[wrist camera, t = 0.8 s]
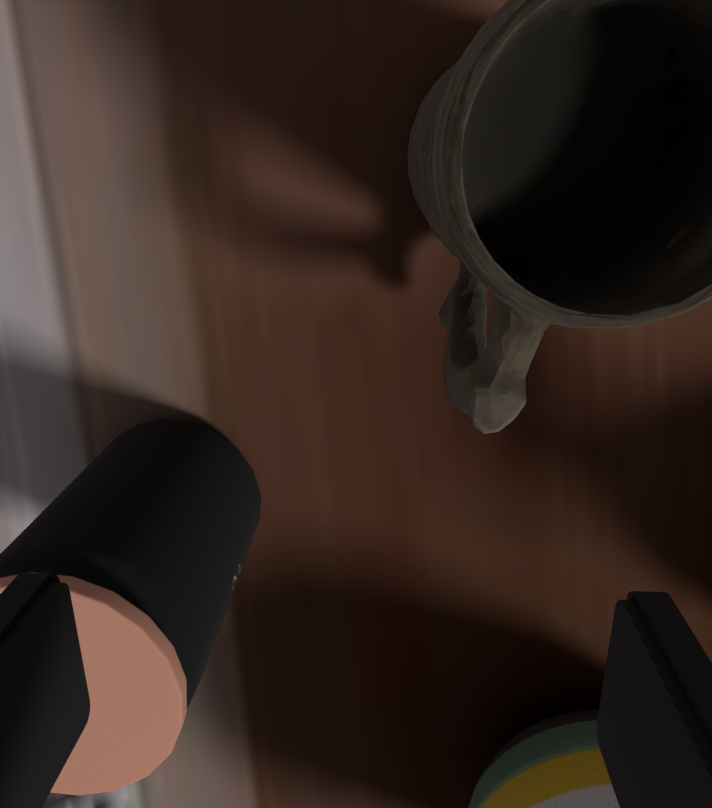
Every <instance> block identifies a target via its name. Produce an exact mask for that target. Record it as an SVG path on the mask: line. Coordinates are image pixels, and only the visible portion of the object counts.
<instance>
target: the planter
mask: <svg viewBox="0 0 712 808" xmlns="http://www.w3.org/2000/svg"><path fill="white" fill-rule="evenodd" d="M598 713H599V710H586V711H576V712H569V713H564V714H560V715H557V716H553V717H550V718H547V719H545V720H542V721H540V722H538V723H536V724H534V725H532V726H530V727H528V728H526V729H525V730H523V731H522V732H520V733H519V734H518V735H516V736H515V737H514V738H512V739H511V740H510V741H509V742H508V743H506V744H505V745H504V746H503V747H502V748H501V749H500V750H499V751H498V753H497V754H496V755H495V756H494V757H493V758H492V760H491V761H490V762H489V764H488V765H487V767H486V768H485V770H484V771H483V773H482V775H481V777H480V779H479V780H478V782H477V784H476V787H475V789H474V792H473V795H472V798H471V801H470V804H469V807H468V808H620V807H619V804H618V801H617V798H616V795H615V792H614V789H613V786H612V783H611V780H610V777H609V774H608V771H607V768H606V766H605V763H604V760H603V757H602V754H601V751H600V748H599V744H598V738H597V719H598Z"/></svg>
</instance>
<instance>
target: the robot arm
mask: <svg viewBox="0 0 712 808" xmlns="http://www.w3.org/2000/svg"><path fill="white" fill-rule="evenodd" d="M89 714H90V698H89V692H88V687H87V682H86V676H85V671H84V665H83V660H82V654H81V649H80V644H79V638H78V633H77V627H76V622H75V616H74V611H73V605H72V600H71V595H70V590H69V586H68V585H67V584H66V583H63V582H60V579H59V577H58V576H57V575H56V574H49V573H21V574H19V575H18V576H16V577H15V578H14V579H13V581H12V582H11V583H10V584H9V585H8V586H7V587H6V588H5V589H4V591H3V592H2V593H1V594H0V808H42V806H43V804H44V802H45V801H46V799H47V797H48V795H49V793H50V791H51V789H52V788H53V786H54V784H55V782H56V780H57V778H58V777H59V775H60V773H61V771H62V769H63V767H64V765H65V764H66V762H67V760H68V758H69V756H70V754H71V752H72V751H73V749H74V747H75V745H76V743H77V741H78V739H79V738H80V736H81V734H82V732H83V730H84V728H85V726H86V724H87V722H88V718H89ZM597 738H598V744H599V748H600V751H601V754H602V757H603V760H604V763H605V766H606V768H607V771H608V774H609V777H610V780H611V783H612V786H613V789H614V792H615V795H616V798H617V801H618V804H619V807H620V808H712V663H711V661H710V660H709V658H708V657H707V655H706V653H705V652H704V650H703V648H702V647H701V645H700V644H699V642H698V640H697V639H696V637H695V635H694V634H693V632H692V631H691V629H690V627H689V626H688V624H687V622H686V621H685V619H684V617H683V616H682V614H681V613H680V611H679V609H678V608H677V606H676V604H675V603H674V601H673V600H672V598H671V597H670V595H669V594H668V593H665V592H641V591H631V592H629V594H628V596H627V599H626V600H618V601H617V603H616V607H615V612H614V619H613V625H612V631H611V637H610V644H609V650H608V656H607V663H606V669H605V675H604V682H603V688H602V694H601V700H600V707H599V713H598V719H597Z"/></svg>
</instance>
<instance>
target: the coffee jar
mask: <svg viewBox="0 0 712 808" xmlns="http://www.w3.org/2000/svg"><path fill="white" fill-rule="evenodd" d="M260 505H261V494H260V491H259V488H258V484H257V481H256V478H255V475H254V472H253V470H252V468H251V467H250V465H249V464H248V463H247V461H246V460H245V458H244V457H243V456H242V454H241V453H240V451H239V450H238V449H237V448H236V447H235V446H234V445H232V444H231V443H230V442H228V441H227V440H226V439H225V438H223V437H222V436H221V435H219V434H218V433H217V432H214V431H212V430H209V429H207V428H204V427H202V426H199V425H197V424H194V423H191V422H181V421H171V420H161V421H156V422H151V423H146V424H141V425H137V426H135V427H134V428H132V429H130V430H129V431H127V432H125V433H124V434H122V435H120V436H119V437H117V438H116V439H115V440H114V441H113V442H112V443H111V444H110V445H109V446H108V447H107V448H106V449H105V450H104V451H103V452H102V453H101V454H100V455H99V456H98V457H97V458H96V459H95V460H94V461H93V462H92V463H91V464H90V465H89V466H88V467H87V468H86V469H85V470H84V471H83V472H82V473H81V474H80V475H79V476H78V477H77V478H76V479H75V480H74V481H73V482H72V483H71V484H70V485H69V486H68V487H67V488H66V489H65V490H64V491H63V492H62V493H61V494H60V495H59V496H58V497H57V498H56V499H55V500H54V501H53V502H52V503H51V504H50V505H49V506H48V507H47V508H46V509H45V510H44V511H43V512H42V513H41V514H40V515H39V516H38V517H37V518H36V519H35V520H34V521H33V522H32V523H31V524H30V525H29V526H28V527H27V528H26V529H25V530H24V531H23V532H22V533H21V534H20V535H19V536H18V537H17V538H16V539H15V540H14V541H13V542H12V543H11V544H10V545H9V546H8V547H7V548H6V549H5V550H4V551H3V552H2V553H1V554H0V594H1V593H2V592H3V591H4V589H5V588H6V587H7V586H8V585H9V584H10V583H11V582H12V581H13V579H14V578H15V577H16V576H18V575H19V574H21V573H49V574H56V575H57V576H58V577H59V579H60V582H63V583H66V584H67V585H68V586H69V590H70V595H71V600H72V605H73V611H74V616H75V622H76V627H77V633H78V638H79V644H80V649H81V654H82V660H83V665H84V671H85V676H86V682H87V687H88V692H89V698H90V714H89V718H88V722H87V724H86V726H85V728H84V730H83V732H82V734H81V736H80V738H79V739H78V741H77V743H76V745H75V747H74V749H73V751H72V752H71V754H70V756H69V758H68V760H67V762H66V764H65V765H64V767H63V769H62V771H61V773H60V775H59V777H58V778H57V780H56V782H55V784H54V786H53V788H52V789H51V791H50V792H52V793H62V794H71V795H87V794H94V793H101V792H109V791H116V790H118V789H120V788H123V787H125V786H127V785H129V784H132V783H134V782H136V781H138V780H140V779H143V778H145V777H147V776H148V775H149V774H150V773H151V772H152V771H153V770H154V769H155V768H156V767H157V766H158V765H159V764H160V763H161V762H162V761H164V760H165V759H166V758H167V757H168V756H169V755H170V754H171V752H172V750H173V747H174V745H175V743H176V740H177V738H178V736H179V733H180V731H181V729H182V726H183V724H184V720H185V716H186V712H187V707H188V706H189V705H190V702H191V700H192V698H193V695H194V693H195V691H196V688H197V686H198V684H199V681H200V679H201V676H202V674H203V671H204V668H205V666H206V663H207V660H208V658H209V655H210V652H211V649H212V647H213V644H214V641H215V639H216V636H217V633H218V631H219V628H220V625H221V622H222V620H223V617H224V614H225V612H226V609H227V606H228V604H229V601H230V598H231V595H232V593H233V590H234V587H235V585H236V582H237V579H238V577H239V574H240V571H241V568H242V566H243V563H244V560H245V558H246V555H247V552H248V550H249V547H250V544H251V541H252V539H253V536H254V533H255V531H256V528H257V525H258V523H259V520H260Z"/></svg>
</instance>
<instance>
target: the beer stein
mask: <svg viewBox="0 0 712 808" xmlns="http://www.w3.org/2000/svg"><path fill="white" fill-rule="evenodd" d="M407 158H408V175H409V179H410V184H411V188H412V193H413V196H414V198H415V200H416V202H417V204H418V206H419V208H420V210H421V211H422V213H423V215H424V217H425V219H426V220H427V221H428V223H429V226H430V228H431V230H432V232H433V233H434V234H435V235H436V236H437V237H438V238H439V239H440V240H441V241H442V243H443V244H444V245H445V246H446V248H447V249H448V250H449V251H450V252H451V253H452V254H453V255H454V256H456V257H457V258H458V259H459V260H460V264H461V266H460V273H459V278H458V280H457V282H456V284H455V285H454V287H453V288H452V290H451V292H450V293H449V295H448V296H447V298H446V300H445V302H444V304H443V306H442V307H441V309H440V312H439V315H440V319H441V323H442V324H443V326H444V327H445V328H446V329H447V330H448V337H447V343H446V349H445V361H444V375H445V387H446V390H447V394H448V396H449V398H450V399H451V401H452V402H453V403H454V405H455V406H456V407H457V408H459V409H460V410H461V411H463V412H465V413H468V414H469V416H470V418H471V421H472V424H473V426H474V427H475V428H476V429H478V430H479V431H480V432H482V433H483V434H487V433H494V432H499V431H500V430H501V429H503V428H504V427H505V426H507V425H508V424H509V423H510V422H512V421H513V420H514V419H515V418H516V416H517V415H518V414H519V412H520V411H521V410H522V408H523V407H524V406H525V404H526V383H525V377H526V375H527V372H528V369H529V366H530V364H531V361H532V359H533V357H534V354H535V352H536V350H537V347H538V345H539V343H540V340H541V338H542V336H543V333H544V331H545V330H546V328H547V327H548V326H549V325H550V324H554V325H559V326H565V327H570V328H600V329H612V328H627V327H632V326H637V325H642V324H647V323H651V322H655V321H658V320H662V319H665V318H668V317H672V316H675V315H679V314H682V313H685V312H687V311H688V310H690V309H692V308H694V307H696V306H698V305H700V304H702V303H704V302H706V301H707V300H709V299H711V298H712V0H509V1H508V2H507V3H505V4H504V5H503V6H502V7H501V8H500V9H499V10H498V11H497V12H496V13H494V14H493V15H492V16H491V17H490V18H489V19H488V20H487V21H486V22H485V24H484V25H483V26H482V27H481V28H480V30H479V31H478V33H477V34H476V36H475V37H474V38H473V40H472V41H471V43H470V44H469V46H468V47H467V48H466V50H465V51H464V53H463V54H462V56H461V58H460V59H459V60H458V61H457V62H456V63H455V64H454V65H453V66H452V67H451V68H450V69H448V70H447V71H446V72H445V73H443V74H442V75H441V77H440V78H439V79H438V80H437V82H436V83H435V84H434V85H433V87H432V88H431V89H430V91H429V92H428V94H427V95H426V97H425V98H424V100H423V101H422V103H421V104H420V107H419V110H418V112H417V115H416V118H415V121H414V123H413V126H412V129H411V132H410V138H409V145H408V152H407ZM486 290H488V291H490V292H491V293H492V294H493V296H494V315H493V321H492V327H491V332H490V335H489V339H488V342H487V338H486V316H487V307H486Z"/></svg>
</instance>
